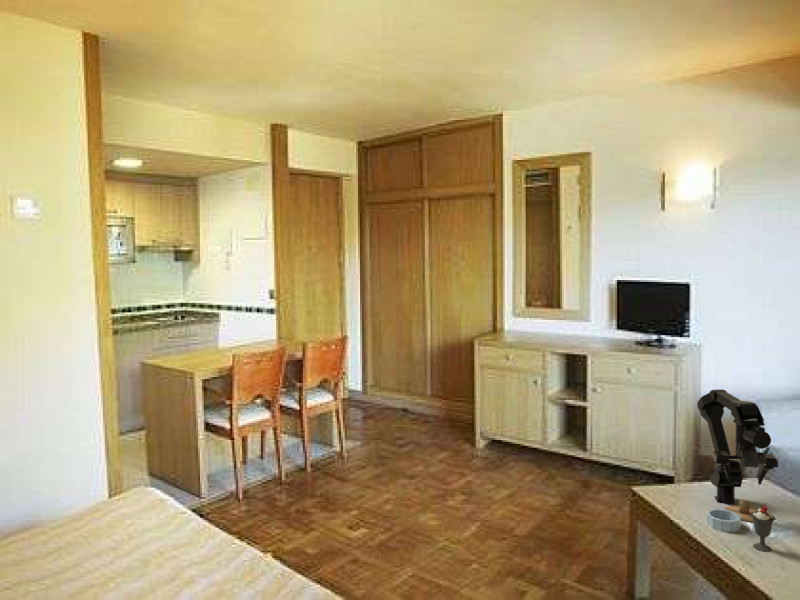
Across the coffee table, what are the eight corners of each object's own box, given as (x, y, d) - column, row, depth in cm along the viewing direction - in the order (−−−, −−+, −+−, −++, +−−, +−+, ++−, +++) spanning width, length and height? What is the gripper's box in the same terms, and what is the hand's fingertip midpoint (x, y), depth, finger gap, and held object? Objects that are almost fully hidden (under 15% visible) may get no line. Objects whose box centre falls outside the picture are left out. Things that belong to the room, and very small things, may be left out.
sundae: (763, 554, 175) (763, 506, 174) (744, 544, 182) (745, 497, 181) (780, 551, 177) (781, 503, 176) (761, 541, 183) (762, 495, 182)
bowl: (702, 518, 200) (703, 507, 200) (735, 521, 197) (735, 510, 197) (709, 531, 190) (709, 520, 190) (744, 535, 188) (744, 523, 187)
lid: (721, 506, 208) (721, 493, 208) (758, 509, 205) (758, 496, 205) (730, 520, 197) (730, 506, 197) (768, 523, 194) (769, 509, 193)
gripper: (720, 444, 194) (719, 490, 195) (784, 448, 188) (783, 495, 190) (712, 434, 204) (712, 477, 206) (773, 437, 199) (772, 481, 200)
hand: (744, 483), depth 200 cm, fingers open, 9 cm apart
